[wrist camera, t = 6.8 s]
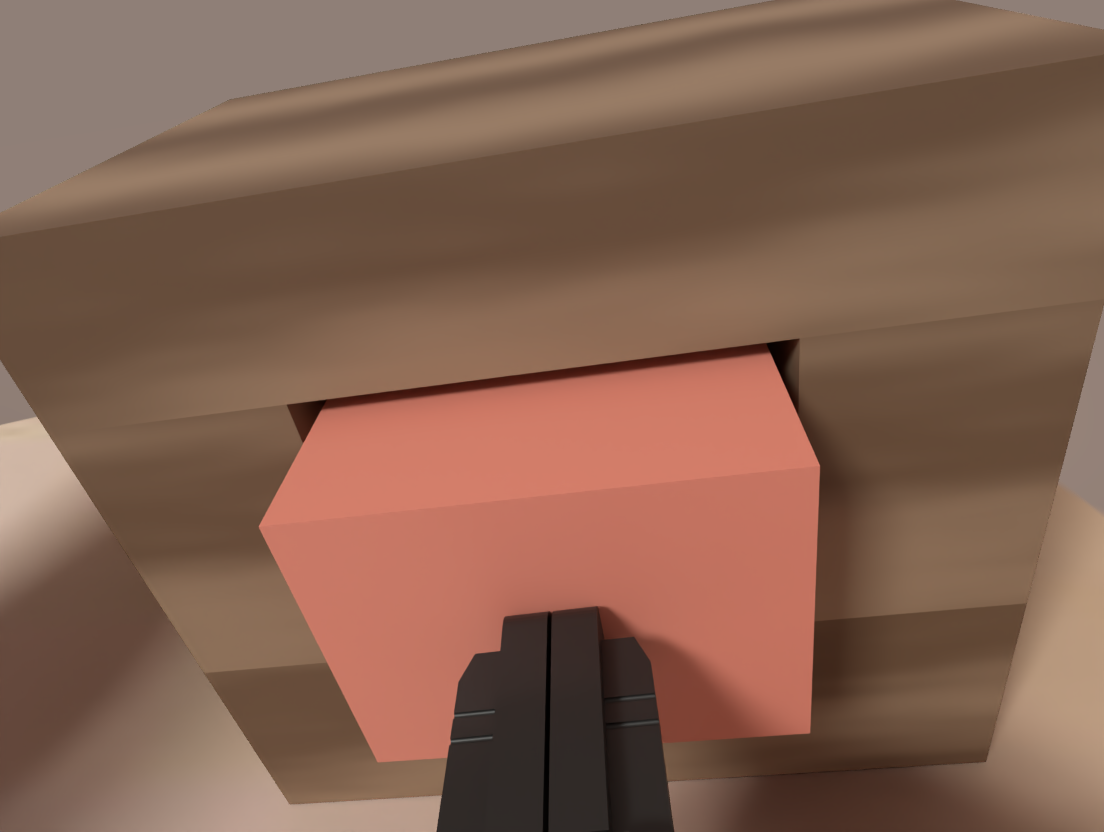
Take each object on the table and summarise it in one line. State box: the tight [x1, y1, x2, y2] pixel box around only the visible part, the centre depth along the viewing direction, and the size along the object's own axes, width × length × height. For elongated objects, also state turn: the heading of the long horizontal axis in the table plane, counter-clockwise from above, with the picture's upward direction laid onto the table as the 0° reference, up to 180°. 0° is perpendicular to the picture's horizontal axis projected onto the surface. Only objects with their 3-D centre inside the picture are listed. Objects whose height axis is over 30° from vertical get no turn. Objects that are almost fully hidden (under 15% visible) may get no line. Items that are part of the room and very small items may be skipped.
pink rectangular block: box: [259, 343, 820, 762], centre depth 15 cm, size 6×8×6 cm
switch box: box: [0, 0, 1104, 804], centre depth 20 cm, size 12×18×16 cm, turn 88°
